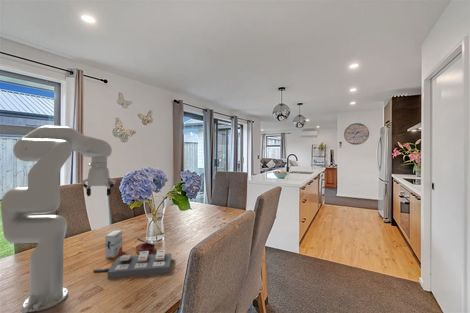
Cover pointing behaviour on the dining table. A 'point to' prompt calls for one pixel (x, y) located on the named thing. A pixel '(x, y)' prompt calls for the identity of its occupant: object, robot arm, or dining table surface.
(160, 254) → the rocker
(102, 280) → the dining table surface
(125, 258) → the rocker
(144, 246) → the dark red apple
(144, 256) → the rocker
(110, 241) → the ink box
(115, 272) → the power strip
